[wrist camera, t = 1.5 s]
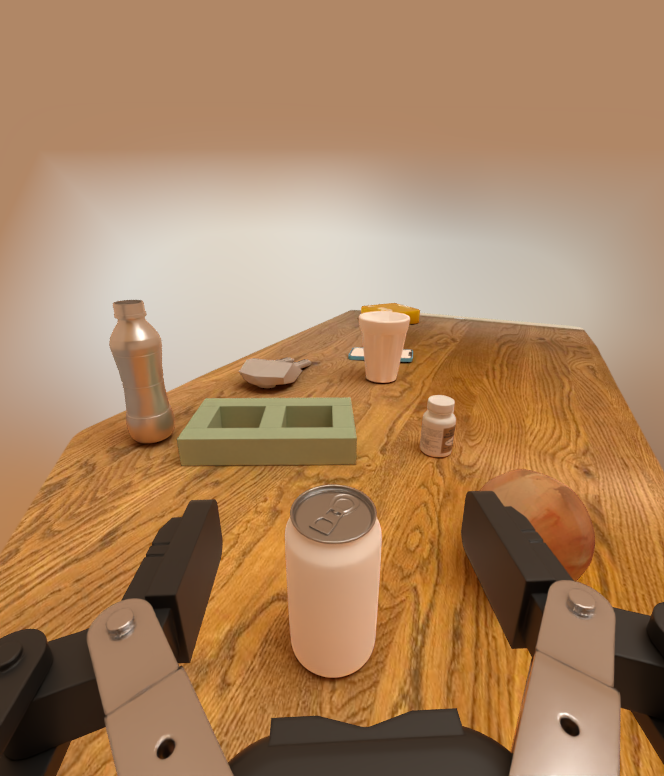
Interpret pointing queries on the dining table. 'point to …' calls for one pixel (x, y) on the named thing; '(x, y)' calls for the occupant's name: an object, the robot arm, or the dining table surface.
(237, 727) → the dining table surface
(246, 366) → the turret
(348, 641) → the can
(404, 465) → the dining table surface
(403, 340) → the cup
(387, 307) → the element tile
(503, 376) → the dining table surface
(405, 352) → the smartphone
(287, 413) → the holder
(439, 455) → the pill bottle
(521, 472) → the onion
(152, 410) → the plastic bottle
